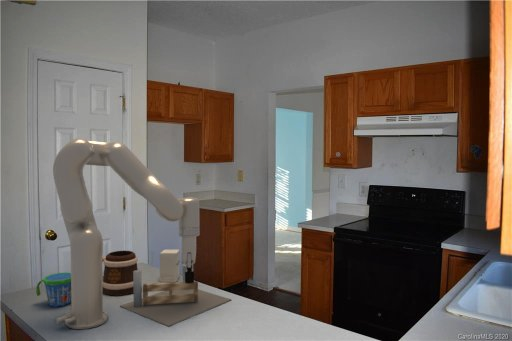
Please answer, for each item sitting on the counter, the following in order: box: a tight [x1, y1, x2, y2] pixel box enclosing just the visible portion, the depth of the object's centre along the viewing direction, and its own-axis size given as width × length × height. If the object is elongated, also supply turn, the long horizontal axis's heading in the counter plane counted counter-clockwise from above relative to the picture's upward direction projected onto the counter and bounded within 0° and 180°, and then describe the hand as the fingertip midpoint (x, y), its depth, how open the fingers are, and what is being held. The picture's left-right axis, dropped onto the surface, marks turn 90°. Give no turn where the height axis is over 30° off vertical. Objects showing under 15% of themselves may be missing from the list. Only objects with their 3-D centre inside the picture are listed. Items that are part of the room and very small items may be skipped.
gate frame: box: [133, 264, 186, 307], centre depth 154 cm, size 26×3×13 cm, turn 142°
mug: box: [102, 250, 139, 296], centre depth 163 cm, size 20×15×15 cm
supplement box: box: [159, 249, 181, 283], centre depth 176 cm, size 7×7×13 cm
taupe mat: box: [119, 288, 232, 328], centre depth 148 cm, size 30×27×1 cm
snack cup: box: [35, 271, 71, 308], centre depth 148 cm, size 16×11×10 cm
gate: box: [142, 266, 199, 305], centre depth 147 cm, size 20×3×13 cm, turn 100°
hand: (189, 280), depth 148 cm, fingers closed on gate, 3 cm apart
